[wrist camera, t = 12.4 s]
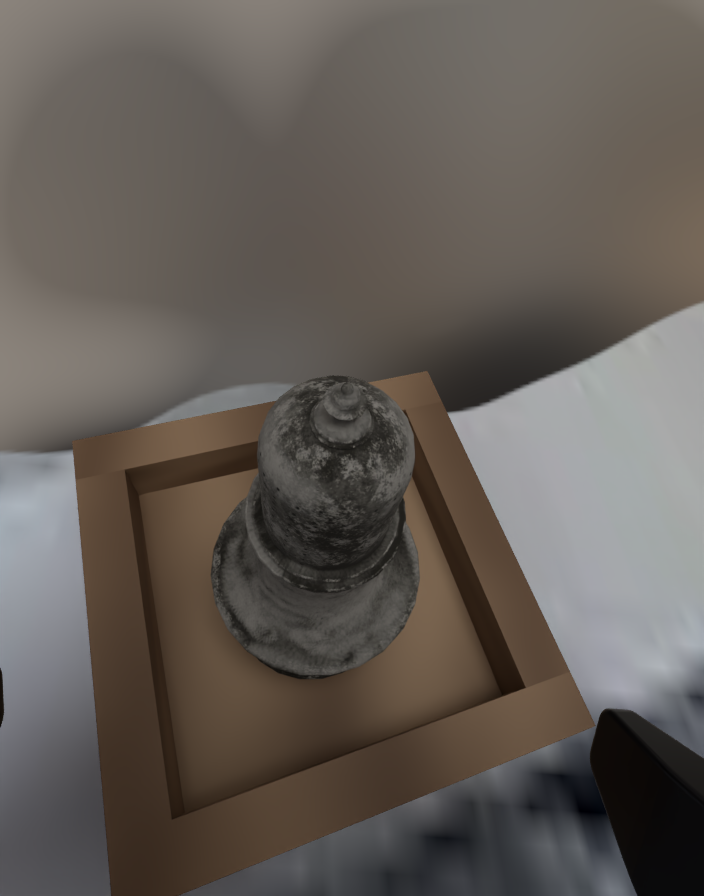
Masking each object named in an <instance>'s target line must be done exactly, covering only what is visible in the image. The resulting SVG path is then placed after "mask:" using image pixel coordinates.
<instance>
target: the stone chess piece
mask: <svg viewBox="0 0 704 896" xmlns="http://www.w3.org/2000/svg"><path fill="white" fill-rule="evenodd" d="M257 461H258V471H259V473H258V474H257V475H256V477H255V478H254V479H253V482H252V485H251V487H250V490H249V493H248V495H247V497H246V498H244V499H243V500H242V501H241V502H239V504H238V505H237V506H236V508H235V509H234V510H233V512H232V513H231V514H230V516H229V517H228V518H227V520H226V521H225V522H224V524H223V526H222V529H221V531H220V534H219V536H218V539H217V541H216V544H215V546H214V550H213V558H212V567H211V581H212V587H213V593H214V600H215V604H216V606H217V608H218V610H219V612H220V615H221V617H222V619H223V621H224V623H225V625H226V627H227V629H228V631H229V632H230V633H231V634H232V635H233V636H234V637H235V639H236V640H237V641H238V642H239V643H240V644H241V645H242V646H243V648H244V649H245V650H246V651H247V652H249V653H250V654H252V655H253V656H255V657H256V658H257V659H258V660H259V661H260V662H261V663H263V664H265V665H266V666H268V667H269V668H271V669H273V670H274V671H276V672H277V673H279V674H283V675H286V676H290V677H293V678H297V679H324V678H327V677H330V676H334V675H337V674H340V673H343V672H345V671H347V670H350V669H354V668H357V667H360V666H361V665H363V664H364V663H366V662H368V661H369V660H371V659H372V658H374V657H375V656H377V655H379V654H380V653H382V652H383V651H384V650H385V649H386V648H387V647H388V646H389V645H390V644H391V642H392V641H393V640H394V639H395V638H396V637H397V636H398V635H399V633H400V632H401V631H402V630H403V629H404V627H405V625H406V622H407V620H408V618H409V616H410V614H411V612H412V610H413V608H414V606H415V603H416V597H417V592H418V587H419V581H420V571H419V559H418V551H417V548H416V545H415V542H414V540H413V537H412V534H411V531H410V528H409V527H408V525H407V524H406V511H405V501H404V498H403V496H404V493H405V491H406V489H407V487H408V485H409V482H410V480H411V477H412V473H413V468H414V463H415V447H414V435H413V432H412V429H411V426H410V424H409V421H408V418H407V417H406V415H405V414H404V412H403V411H402V410H401V408H400V407H399V405H398V404H397V403H396V402H395V401H394V400H393V399H392V398H391V397H389V396H388V395H387V394H386V393H385V392H384V391H382V390H381V389H379V388H377V387H375V386H373V385H371V384H369V383H367V382H366V381H363V380H359V379H356V378H352V377H347V376H327V377H321V378H315V379H311V380H308V381H306V382H303V383H301V384H299V385H296V386H294V387H293V388H291V389H290V390H289V391H287V392H286V393H285V394H283V395H282V396H281V397H279V398H278V400H277V401H276V402H275V404H274V405H273V406H272V407H271V409H270V410H269V411H268V413H267V416H266V419H265V421H264V424H263V426H262V429H261V431H260V434H259V437H258V449H257Z"/></svg>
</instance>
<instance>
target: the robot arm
mask: <svg viewBox="0 0 704 896" xmlns="http://www.w3.org/2000/svg"><path fill="white" fill-rule="evenodd" d="M3 716H4V701H3V680H2V670H1V668H0V727H1V724H2V721H3ZM590 763H591V768H592V772H593V775H594V777H595V780H596V783H597V786H598V789H599V792H600V795H601V798H602V800H603V803H604V806H605V809H606V812H607V815H608V818H609V821H610V823H611V826H612V829H613V832H614V835H615V838H616V841H617V843H618V846H619V849H620V852H621V855H622V858H623V861H624V863H625V866H626V869H627V871H628V874H629V877H630V879H631V882H632V884H633V886H634V889H635V891H636V893H637V896H704V758H702V757H701V756H699V755H698V754H696V753H695V752H693V751H692V750H690V749H689V748H687V747H686V746H684V745H683V744H681V743H680V742H678V741H677V740H675V739H674V738H672V737H671V736H669V735H668V734H666V733H665V732H663V731H662V730H660V729H659V728H657V727H656V726H654V725H653V724H651V723H650V722H648V721H647V720H645V719H644V718H642V717H641V716H639V715H638V714H636V713H635V712H633V711H631V710H625V709H611V708H608V709H605V710H603V711H602V713H601V714H600V717H599V721H598V724H597V728H596V732H595V736H594V739H593V743H592V747H591V751H590Z"/></svg>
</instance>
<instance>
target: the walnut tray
mask: <svg viewBox="0 0 704 896" xmlns="http://www.w3.org/2000/svg"><path fill="white" fill-rule="evenodd" d="M369 384H371V385H373V386H375V387H377V388H379V389H381V390H382V391H384V392H385V393H386V394H387V395H388V396H389V397H391V398H392V399H393V400H394V401H395V402H396V403H397V404H398V405H399V407H400V408H401V410H402V411H403V412H404V414H405V415H406V417H407V418H408V421H409V424H410V426H411V429H412V432H413V435H414V447H415V463H414V468H413V473H412V477H411V480H410V482H409V485H408V487H407V489H406V491H405V493H404V496H403V498H404V501H405V511H406V524H407V525H408V527H409V528H410V531H411V534H412V537H413V540H414V542H415V545H416V548H417V551H418V559H419V571H420V581H419V587H418V592H417V597H416V603H415V606H414V608H413V610H412V612H411V614H410V616H409V618H408V620H407V622H406V625H405V627H404V629H403V630H402V631H401V632H400V633H399V635H398V636H397V637H396V638H395V639H394V640H393V641H392V642H391V644H390V645H389V646H388V647H387V648H386V649H385V650H384V651H383V652H382V653H380V654H379V655H377V656H375V657H374V658H372V659H371V660H369V661H368V662H366V663H364V664H363V665H361V666H360V667H357V668H354V669H350V670H347V671H345V672H343V673H340V674H337V675H334V676H330V677H327V678H324V679H297V678H293V677H290V676H286V675H283V674H279V673H277V672H276V671H274V670H273V669H271V668H269V667H268V666H266V665H265V664H263V663H261V662H260V661H259V660H258V659H257V658H256V657H255V656H253V655H252V654H250V653H249V652H247V651H246V650H245V649H244V648H243V646H242V645H241V644H240V643H239V642H238V641H237V640H236V639H235V637H234V636H233V635H232V634H231V633H230V632H229V631H228V629H227V627H226V625H225V623H224V621H223V619H222V617H221V615H220V612H219V610H218V608H217V606H216V604H215V600H214V593H213V587H212V581H211V567H212V558H213V550H214V546H215V544H216V541H217V539H218V536H219V534H220V531H221V529H222V526H223V524H224V522H225V521H226V520H227V518H228V517H229V516H230V514H231V513H232V512H233V510H234V509H235V508H236V506H237V505H238V504H239V502H241V501H242V500H243V499H244V498H246V497H247V495H248V493H249V490H250V487H251V485H252V482H253V479H254V478H255V477H256V475H257V474H258V473H259V471H258V461H257V449H258V437H259V434H260V431H261V429H262V426H263V424H264V421H265V419H266V416H267V413H268V411H269V410H270V409H271V407H272V406H273V405H274V404H275V402H276V401H273V402H268V403H263V404H258V405H253V406H248V407H242V408H237V409H232V410H227V411H222V412H217V413H212V414H207V415H202V416H197V417H192V418H187V419H182V420H176V421H171V422H166V423H161V424H156V425H151V426H146V427H141V428H136V429H131V430H126V431H121V432H116V433H110V434H105V435H100V436H95V437H91V438H85V439H81V440H75V441H72V443H73V455H74V466H75V478H76V490H77V501H78V513H79V525H80V536H81V548H82V559H83V571H84V583H85V594H86V606H87V618H88V629H89V641H90V652H91V664H92V676H93V687H94V699H95V710H96V722H97V734H98V745H99V757H100V769H101V780H102V792H103V803H104V815H105V827H106V838H107V850H108V862H109V873H110V885H111V896H179V895H181V894H183V893H186V892H188V891H191V890H193V889H196V888H198V887H201V886H203V885H206V884H208V883H211V882H213V881H215V880H218V879H220V878H223V877H225V876H228V875H230V874H233V873H235V872H238V871H240V870H242V869H245V868H247V867H250V866H252V865H255V864H257V863H260V862H262V861H265V860H267V859H270V858H272V857H274V856H277V855H279V854H282V853H284V852H287V851H289V850H292V849H294V848H297V847H299V846H301V845H304V844H306V843H309V842H311V841H314V840H316V839H319V838H321V837H324V836H326V835H329V834H331V833H333V832H336V831H338V830H341V829H343V828H346V827H348V826H351V825H353V824H356V823H358V822H360V821H363V820H365V819H368V818H370V817H373V816H375V815H378V814H380V813H383V812H385V811H388V810H390V809H392V808H395V807H397V806H400V805H402V804H405V803H407V802H410V801H412V800H415V799H417V798H419V797H422V796H424V795H427V794H429V793H432V792H434V791H437V790H439V789H442V788H444V787H447V786H449V785H451V784H454V783H456V782H459V781H461V780H464V779H466V778H469V777H471V776H474V775H476V774H478V773H481V772H483V771H486V770H488V769H491V768H493V767H496V766H498V765H501V764H503V763H506V762H508V761H510V760H513V759H515V758H518V757H520V756H523V755H525V754H528V753H530V752H533V751H535V750H537V749H540V748H542V747H545V746H547V745H550V744H552V743H555V742H557V741H560V740H562V739H565V738H567V737H569V736H572V735H574V734H577V733H579V732H582V731H584V730H587V729H589V728H592V727H594V726H595V724H594V721H593V719H592V717H591V715H590V713H589V711H588V709H587V707H586V705H585V702H584V700H583V698H582V696H581V694H580V692H579V690H578V688H577V686H576V684H575V681H574V679H573V677H572V675H571V673H570V671H569V669H568V667H567V665H566V662H565V660H564V658H563V656H562V654H561V652H560V650H559V648H558V646H557V643H556V641H555V639H554V637H553V635H552V633H551V631H550V629H549V627H548V625H547V622H546V620H545V618H544V616H543V614H542V612H541V610H540V608H539V606H538V603H537V601H536V599H535V597H534V595H533V593H532V591H531V589H530V587H529V585H528V582H527V580H526V578H525V576H524V574H523V572H522V570H521V568H520V566H519V563H518V561H517V559H516V557H515V555H514V553H513V551H512V549H511V547H510V544H509V542H508V540H507V538H506V536H505V534H504V532H503V530H502V528H501V526H500V523H499V521H498V519H497V517H496V515H495V513H494V511H493V509H492V507H491V504H490V502H489V500H488V498H487V496H486V494H485V492H484V490H483V488H482V485H481V483H480V481H479V479H478V477H477V475H476V473H475V471H474V469H473V467H472V464H471V462H470V460H469V458H468V456H467V454H466V452H465V450H464V448H463V445H462V443H461V441H460V439H459V437H458V435H457V433H456V431H455V429H454V426H453V424H452V422H451V420H450V418H449V416H448V414H447V412H446V410H445V408H444V405H443V403H442V401H441V399H440V397H439V395H438V393H437V391H436V389H435V387H434V384H433V382H432V380H431V379H430V376H429V374H428V372H427V371H425V372H420V373H415V374H410V375H405V376H400V377H395V378H390V379H385V380H379V381H374V382H369Z"/></svg>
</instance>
